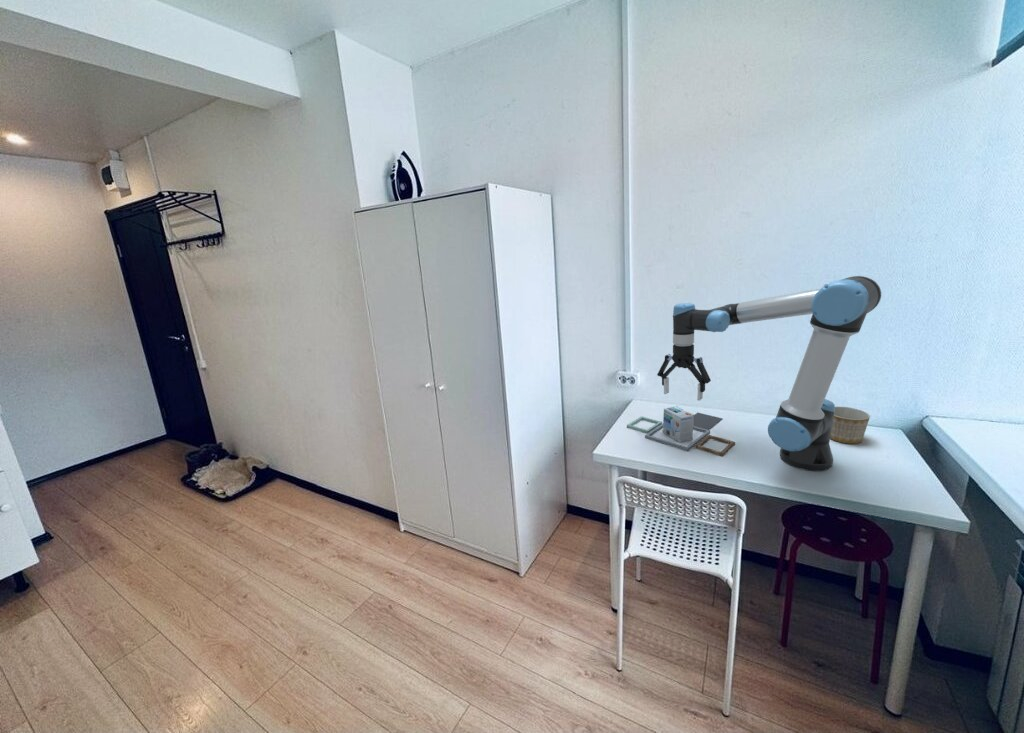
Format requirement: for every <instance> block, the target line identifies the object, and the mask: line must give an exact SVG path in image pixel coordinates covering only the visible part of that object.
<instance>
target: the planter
mask: <svg viewBox="0 0 1024 733" xmlns="http://www.w3.org/2000/svg"><path fill="white" fill-rule="evenodd" d="M870 418H871V415H870V414H869V413H868V412H866V411H864V410H861V409H858V408H853V407H847V406H835V413H834V417H833V423H832V430H831V436H830V440H833V441H835V442H838V443H843V444H852V445H854V444H855V445H856V444H858V443H862V441H863V440H864V436H865V433H866V431H867V427H868V425H869V424H868V423H869V421H870Z"/></svg>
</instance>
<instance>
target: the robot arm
mask: <svg viewBox="0 0 1024 733" xmlns="http://www.w3.org/2000/svg"><path fill="white" fill-rule="evenodd" d="M881 290H882V289H881V287H880V285H879V284H878V283H877V282H876V281H875V280H873V279H872V278H869V277H867V276H861V275H854V276H849V277H845V278H843V279H837V280H833V281H830V282H829V283H826V284H823V285H822V287H820V288H815V289H811V290H806V291H805V290H804V291H800V292H799V291H798V292H793V293H788V294H782V295H776V296H772V297H765V298H760V299H754V300H747V301H743V302H739V303H737V302H736V303H728V304H725V305H723V306H718V307H715V308H711V309H697V308H696V304H694V303H693V302H692V303H691V302H684V303H683V302H681V303H676V304H675V305H673V311H672V312H673V314H672V321H673V322H672V326H673V327H672V329H673V331H672V344H673V345H672V354H670V353H668V354H666V355H664V361H663V362H662V364H661V366H660V367H659V370H658V372H657V374H656V376H657V377H660V378H661V385H662V386H663V395H668V394H669V393H670V378H669V375H670V374H671V373H672V372H673V371H674V370H675V369H676V368H679V369H680V368H682V369H688V371H690V372H691V374H692V375H693V376H694V378H695V379H696V380H697V381H698V384H697V399H696V401H701V400H703V394H704V392H705V391H706V384H709V383H710V382H711V378H710V376H709V374H708V371H707V369H706V366H705V365H704V363H703V362H704V360H703V357H695V356H694V354H695V345H694V343H695V331H701V332H702V331H704V332H712V333H723V332H725V331H726V330H727V329H728V328H729V326H733V325H741V324H745V323H746V324H747V323H753V322H761V321H767V320H776V319H782V318H783V319H784V318H792V317H799V316H800V317H801V316H807V315H811V317H810V320H809V324H810V326H811V327H812V328H813V331H812V333H811V336H810V339H809V342H808V344H807V348H806V351H805V353H804V355H803V358H802V361H801V364H800V367H799V369H798V373H797V375H796V378H795V380H794V383H793V386H792V389H791V391H790V393H789V394H790V395H789V397H788V399H785V400H783V401H781V403H780V406H779V408H778V411H777V413H776V417H774V418H772V420H770V422H769V424H768V425H767V433H768V437H769V438H770V439H771V441H772V442H773V444H775V445H776V446H777V447H778V448H780V449H779V450H780V451H779V457H780V459H781V460H782V461H783V462H784V463H785V464H787V465H790V466H792V467H794V468H797V469H801V470H805V471H812V472H823V471H827V470H830V469H832V468H833V464H834V456H833V454H832V450H831V449H832V448H831V446H830V442H831V441H830V440H831V439H830V436H831V430H832V423H833V417H834V413H835V407H836V405H835V403H834V402H833V401H831V400H829V399H826V398H827V395H828V392H829V390H830V387H831V384H832V382H833V380H834V378H835V375H836V373H837V370H838V367H839V364H840V363H841V359H842V357H843V355H844V353H845V350H846V347H847V345H848V342H849V340H850V337H852V336H854V335H856V334H859V333H860V331H861V329H862V326H863V324H864V321H865V319H866V316H867V314H869V313H870V312H872V311H874V309H876V307H877V306H878V305H879V304H880V302H881V298H882V291H881ZM671 360H672V361H673V363H672V364H671V365H670V367H669V368H667V367H668V365H669V363H670V362H671ZM694 363H695V364H696V365H695V364H694ZM696 366H697V368H696ZM666 369H667V370H666Z"/></svg>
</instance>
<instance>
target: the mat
mask: <svg viewBox="0 0 1024 733" xmlns="http://www.w3.org/2000/svg"><path fill="white" fill-rule="evenodd" d="M721 421H723V418H722V417H719V416H713V415H711V414H706V413H701V412H696V413H694V424H693V426H695V427H699V428H703V429H707V430H710V431H711V429H712V428H714V427H715V426H716V425H717V424H719V423H720V422H721Z"/></svg>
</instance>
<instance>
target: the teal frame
mask: <svg viewBox="0 0 1024 733" xmlns="http://www.w3.org/2000/svg"><path fill="white" fill-rule="evenodd" d="M641 421H645V422H648V423H652V424H653V425H652V426H651V427H649V428H647V429H645V428H642V427H639V426H635V425H637V424H638V423H640V422H641ZM661 424H663V421H660V420H658V419H657V420H656V419H653V418H650V417H645V416H642V415H640V416H639V417H638V418H636V419H634V420H633V421H631V422H629V423H628V424H626V428H627V429H631V430H634V431H636V432H640V433H644V434H647V433H649V432H651V431H652V430H654V429H655V428H657V427H658V426H660V425H661Z"/></svg>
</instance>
